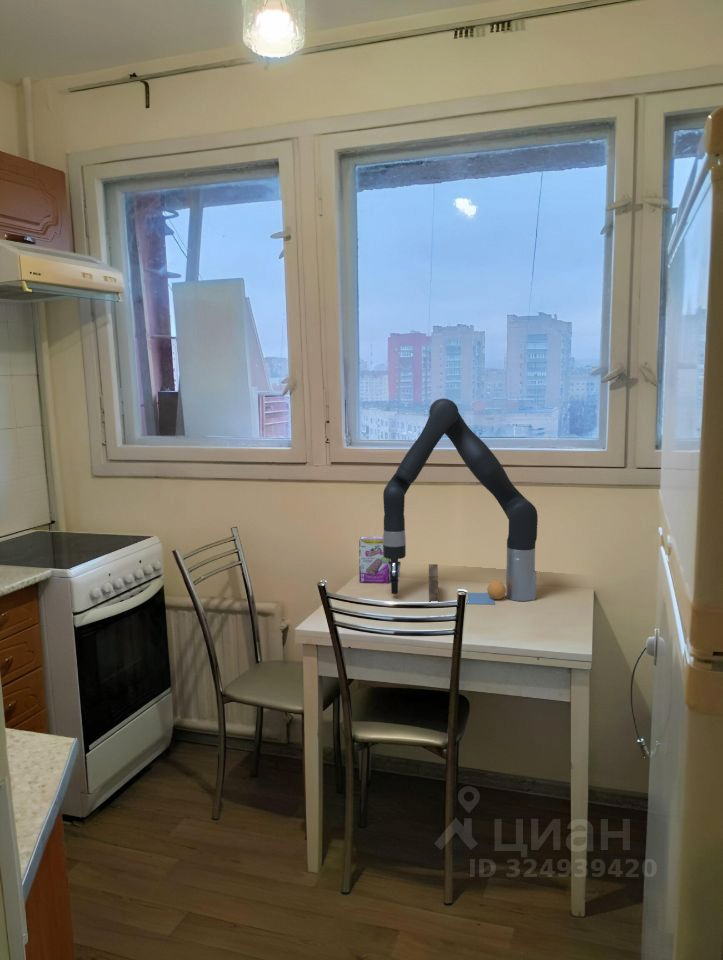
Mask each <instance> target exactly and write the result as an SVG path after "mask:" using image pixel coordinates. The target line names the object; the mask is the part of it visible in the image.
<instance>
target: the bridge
mask: <svg viewBox="0 0 723 960" xmlns="http://www.w3.org/2000/svg"><path fill="white" fill-rule="evenodd" d="M438 567H439V565H438V564H437V563H435V564H433V563H432V564H431V563H430V564H428V603H429V602H431V601H438V602H439V568H438Z"/></svg>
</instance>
